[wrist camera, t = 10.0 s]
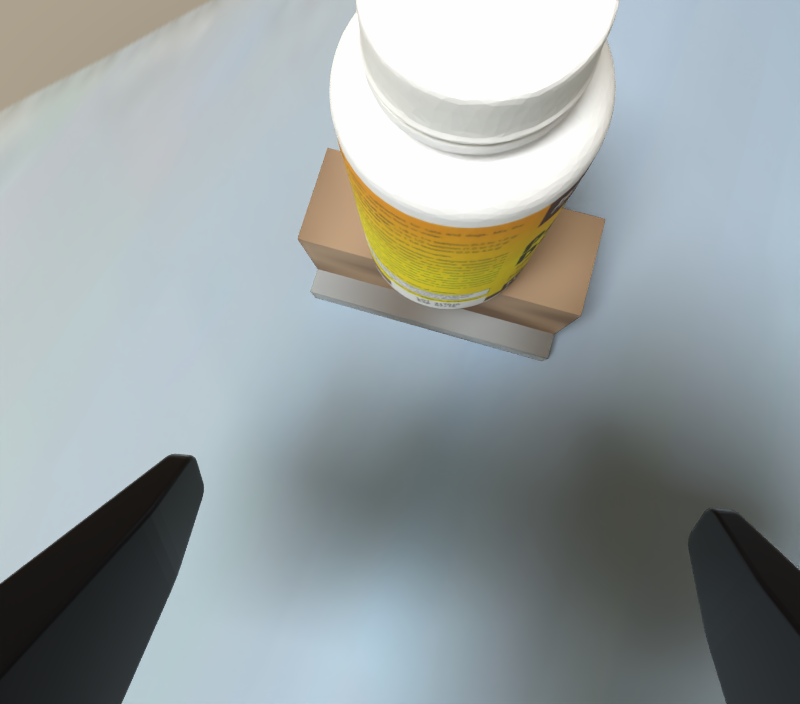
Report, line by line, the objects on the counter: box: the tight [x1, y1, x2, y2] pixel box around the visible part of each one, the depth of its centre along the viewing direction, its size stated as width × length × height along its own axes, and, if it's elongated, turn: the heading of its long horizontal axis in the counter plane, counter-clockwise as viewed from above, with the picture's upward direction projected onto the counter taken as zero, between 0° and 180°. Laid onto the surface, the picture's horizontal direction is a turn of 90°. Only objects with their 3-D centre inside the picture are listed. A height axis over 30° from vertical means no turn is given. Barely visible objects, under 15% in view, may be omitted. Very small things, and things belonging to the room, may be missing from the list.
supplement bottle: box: [330, 0, 619, 309], centre depth 13 cm, size 6×6×10 cm
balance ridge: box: [298, 148, 605, 361], centre depth 20 cm, size 10×6×4 cm, turn 74°
